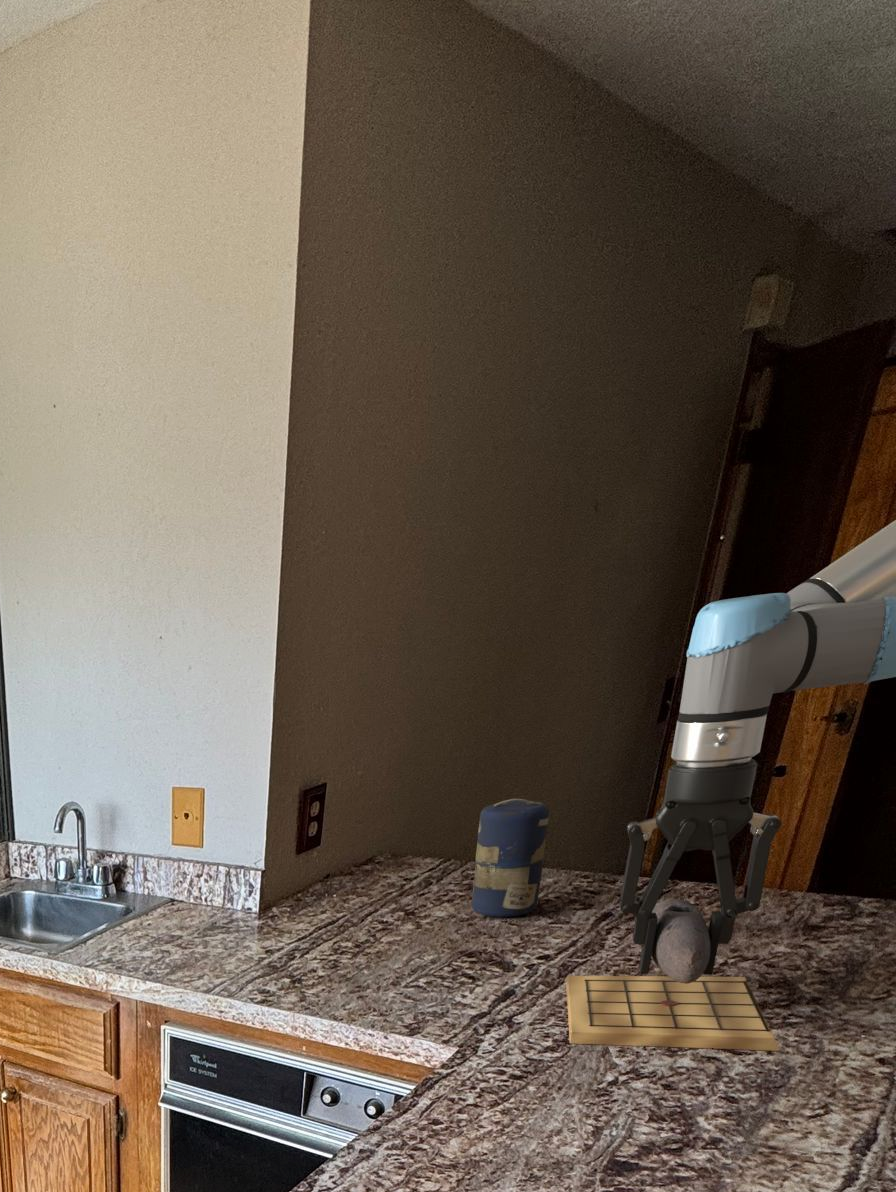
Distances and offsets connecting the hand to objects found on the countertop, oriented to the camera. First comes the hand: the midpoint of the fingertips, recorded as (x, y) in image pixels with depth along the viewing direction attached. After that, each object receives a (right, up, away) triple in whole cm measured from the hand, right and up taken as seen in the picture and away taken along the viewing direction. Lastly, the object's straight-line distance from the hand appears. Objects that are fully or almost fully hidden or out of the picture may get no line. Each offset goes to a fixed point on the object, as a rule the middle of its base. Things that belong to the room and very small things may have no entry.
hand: (674, 970), depth 115 cm
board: (+1, -5, +2) cm, 6 cm away
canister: (+7, +17, +46) cm, 50 cm away
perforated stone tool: (0, 0, 0) cm, 0 cm away
